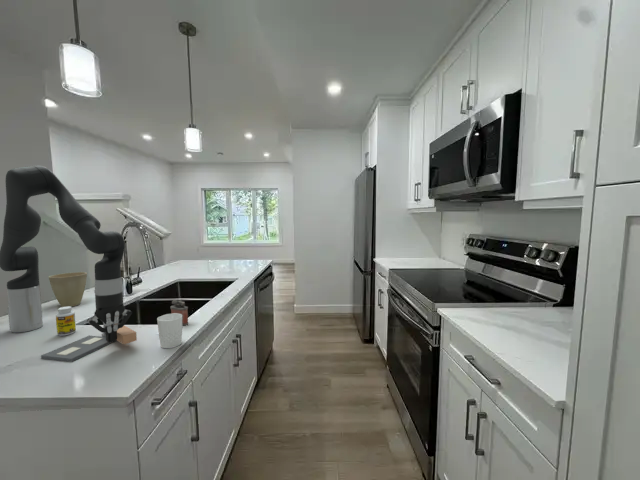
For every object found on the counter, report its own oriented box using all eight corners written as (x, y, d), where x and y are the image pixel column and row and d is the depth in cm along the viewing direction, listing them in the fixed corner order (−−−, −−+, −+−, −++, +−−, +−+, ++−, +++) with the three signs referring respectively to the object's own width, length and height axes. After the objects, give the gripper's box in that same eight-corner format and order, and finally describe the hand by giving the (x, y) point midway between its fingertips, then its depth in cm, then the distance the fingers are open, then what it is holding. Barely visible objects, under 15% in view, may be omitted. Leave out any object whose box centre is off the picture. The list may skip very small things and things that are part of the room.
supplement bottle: (55, 337, 111) (53, 311, 110) (58, 332, 115) (56, 307, 114) (75, 334, 114) (73, 308, 113) (76, 329, 118) (75, 304, 117)
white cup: (164, 340, 108) (163, 313, 107) (186, 339, 108) (185, 312, 108) (154, 350, 100) (152, 321, 99) (178, 349, 101) (177, 320, 100)
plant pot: (95, 300, 159) (93, 271, 157) (74, 309, 144) (72, 277, 142) (67, 301, 158) (64, 272, 156) (42, 310, 143) (39, 277, 142)
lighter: (190, 323, 124) (189, 300, 123) (184, 326, 121) (183, 302, 120) (175, 321, 127) (174, 298, 126) (169, 324, 123) (168, 301, 123)
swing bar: (101, 332, 111) (101, 322, 111) (114, 329, 114) (113, 319, 114) (123, 347, 99) (123, 335, 98) (136, 343, 102) (136, 332, 101)
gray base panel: (41, 358, 94) (41, 354, 94) (102, 332, 115) (102, 329, 115) (71, 361, 92) (71, 358, 92) (128, 334, 113) (128, 331, 113)
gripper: (88, 297, 90) (92, 352, 92) (135, 289, 101) (138, 338, 102) (80, 294, 95) (83, 346, 96) (126, 286, 105) (128, 333, 107)
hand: (111, 342), depth 99 cm, fingers closed
